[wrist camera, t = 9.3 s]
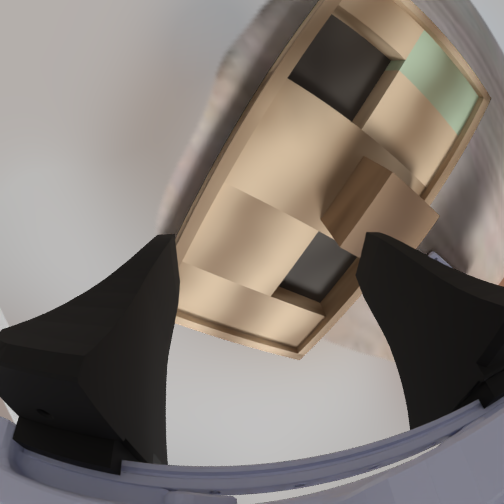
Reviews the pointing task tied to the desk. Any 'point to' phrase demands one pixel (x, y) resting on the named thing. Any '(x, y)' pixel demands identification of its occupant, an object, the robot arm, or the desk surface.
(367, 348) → the desk surface
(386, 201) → the walnut block
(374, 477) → the robot arm
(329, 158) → the tray
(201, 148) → the desk surface
